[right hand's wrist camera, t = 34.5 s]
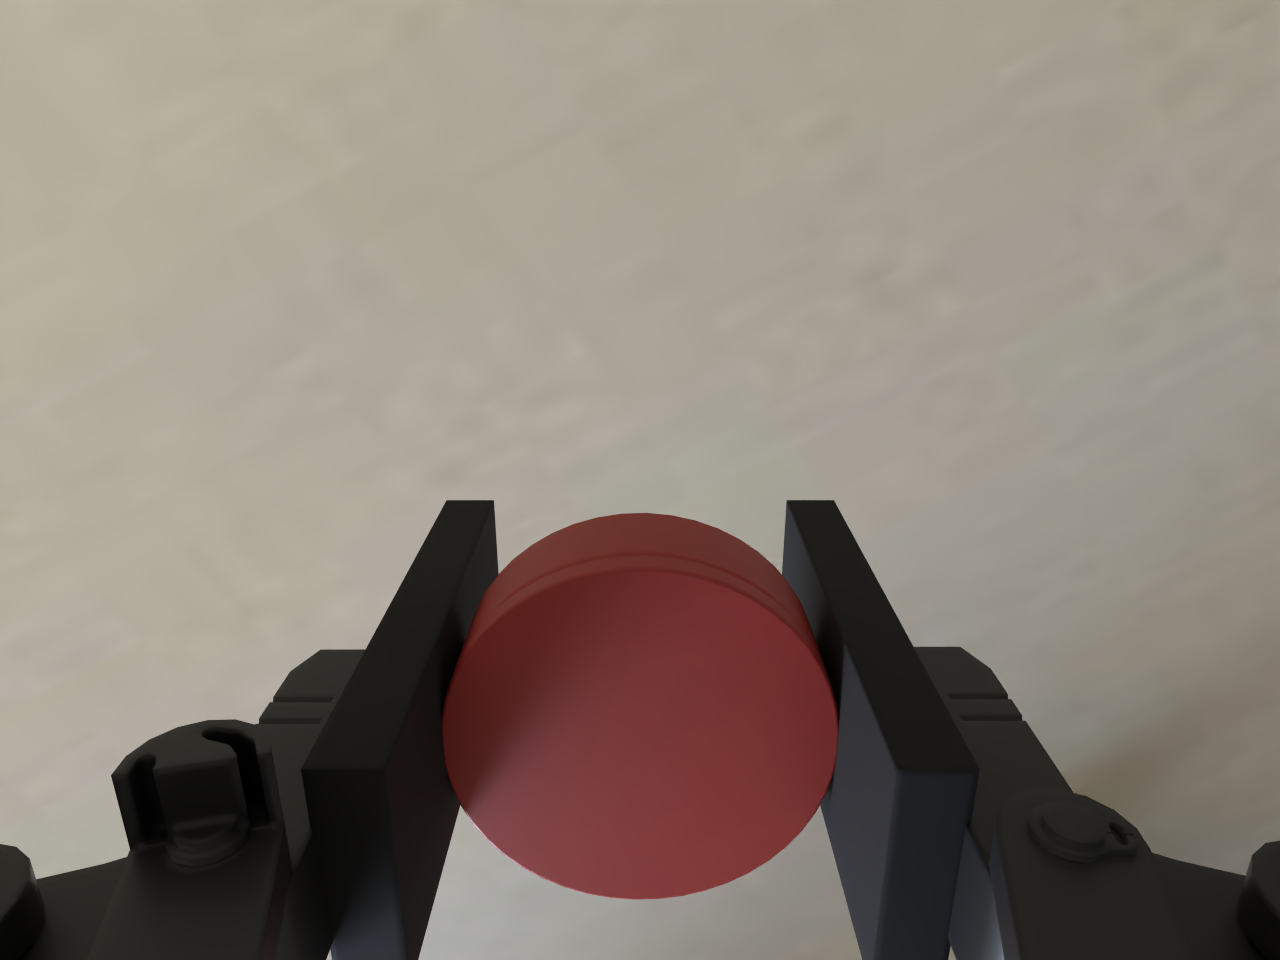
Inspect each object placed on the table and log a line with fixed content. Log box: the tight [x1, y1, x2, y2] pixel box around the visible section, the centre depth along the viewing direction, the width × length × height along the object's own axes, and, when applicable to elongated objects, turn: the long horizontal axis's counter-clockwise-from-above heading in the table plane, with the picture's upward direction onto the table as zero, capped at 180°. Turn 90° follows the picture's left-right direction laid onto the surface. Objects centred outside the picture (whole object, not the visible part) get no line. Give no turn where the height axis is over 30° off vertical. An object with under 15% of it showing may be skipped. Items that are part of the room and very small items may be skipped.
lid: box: [442, 513, 839, 899], centre depth 11 cm, size 5×5×2 cm
